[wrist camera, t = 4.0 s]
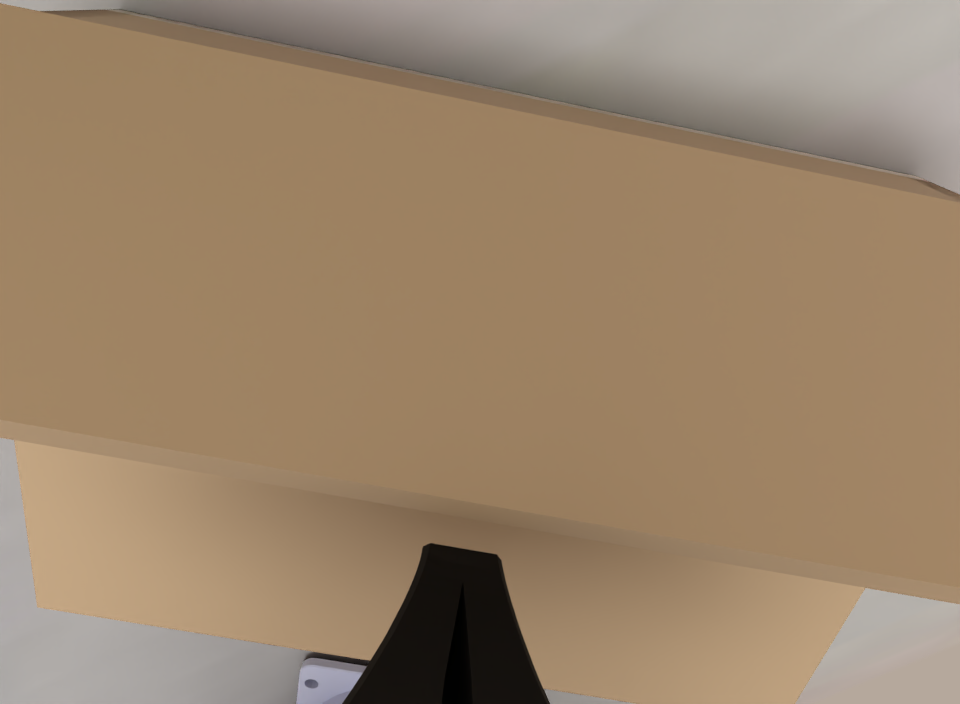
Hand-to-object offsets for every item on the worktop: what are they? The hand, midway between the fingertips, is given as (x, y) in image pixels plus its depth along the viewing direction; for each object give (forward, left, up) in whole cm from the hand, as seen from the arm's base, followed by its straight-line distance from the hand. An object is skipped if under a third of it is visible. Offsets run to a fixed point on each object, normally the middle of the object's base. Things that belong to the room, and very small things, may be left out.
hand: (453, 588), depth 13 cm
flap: (+5, 0, -1) cm, 5 cm away
